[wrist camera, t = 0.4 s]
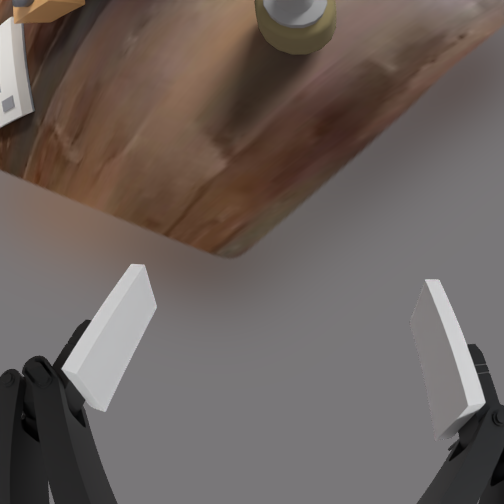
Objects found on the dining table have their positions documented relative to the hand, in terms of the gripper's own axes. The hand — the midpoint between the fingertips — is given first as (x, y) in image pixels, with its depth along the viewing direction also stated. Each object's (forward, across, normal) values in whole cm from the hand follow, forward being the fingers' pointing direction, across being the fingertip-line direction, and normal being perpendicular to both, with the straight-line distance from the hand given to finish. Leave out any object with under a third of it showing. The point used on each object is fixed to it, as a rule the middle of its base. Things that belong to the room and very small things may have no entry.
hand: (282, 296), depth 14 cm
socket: (+27, -50, +18) cm, 60 cm away
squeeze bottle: (+28, 0, +15) cm, 31 cm away
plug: (+27, -31, +26) cm, 49 cm away
